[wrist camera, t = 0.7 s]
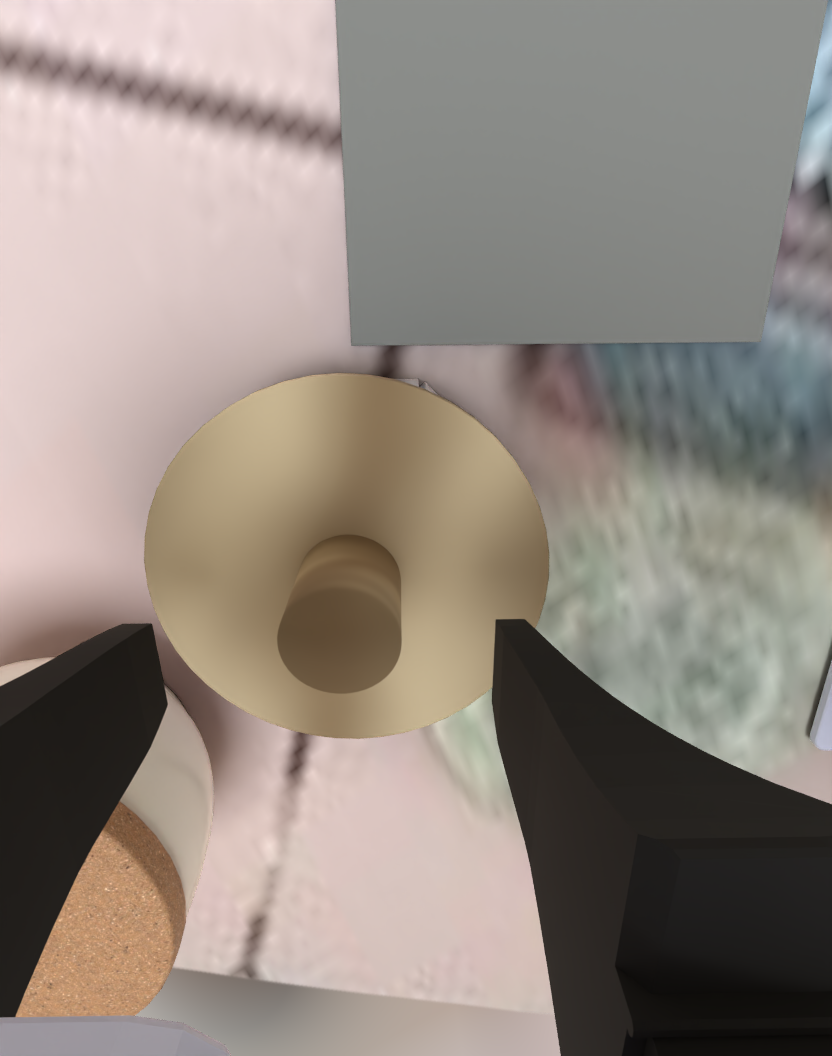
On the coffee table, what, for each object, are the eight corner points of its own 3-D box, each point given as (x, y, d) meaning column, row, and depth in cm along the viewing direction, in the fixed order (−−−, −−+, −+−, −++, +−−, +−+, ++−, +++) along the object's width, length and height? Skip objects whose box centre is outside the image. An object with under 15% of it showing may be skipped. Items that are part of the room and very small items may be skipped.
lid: (560, 370, 14) (610, 392, 11) (530, 720, 18) (560, 814, 15) (115, 375, 14) (27, 399, 11) (187, 729, 18) (139, 827, 15)
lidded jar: (106, 864, 25) (-64, 1170, 16) (-93, 691, 21) (-446, 954, 13) (306, 759, 23) (238, 1042, 14) (120, 550, 19) (-124, 746, 11)
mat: (861, -221, 13) (874, -237, 12) (752, 341, 17) (760, 341, 17) (327, -217, 13) (324, -232, 12) (352, 345, 17) (351, 345, 17)
